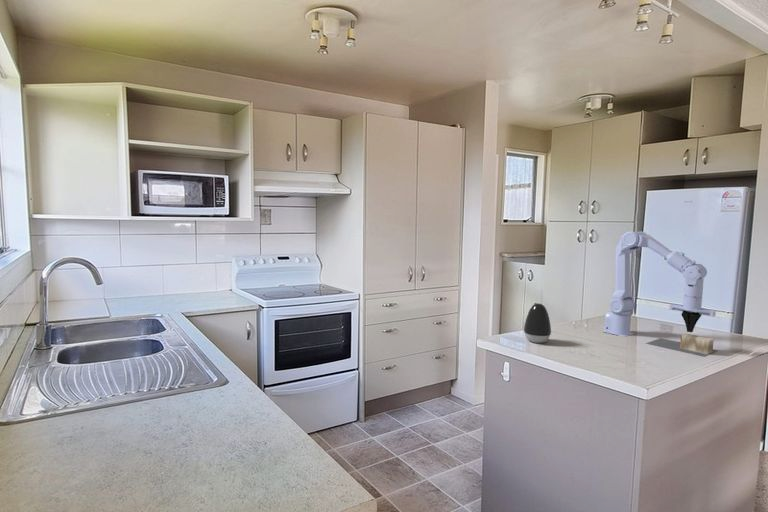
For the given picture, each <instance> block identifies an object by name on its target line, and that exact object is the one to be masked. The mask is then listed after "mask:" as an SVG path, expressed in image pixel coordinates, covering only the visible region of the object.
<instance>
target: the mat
mask: <svg viewBox="0 0 768 512" xmlns="http://www.w3.org/2000/svg"><path fill="white" fill-rule="evenodd" d="M645 344H647V345H651V346H655V347H660V348H664V349H668V350H672V351H675V352H676V351H677V352H679V353H680V352H681V353H686V354H689V355H694V356H699V357H707V356H710V355H712V354H715V353H717V352H718V351H719V349H718V350H717V349H714V348H713V352H712V353H709V354H704V353H699V352H695V351H690V350H686V349H681V348H680V341H675V340H670V339H667V338H663V337H660V338H657V339H653V340H652V341H649V342H645Z"/></svg>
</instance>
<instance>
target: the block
mask: <svg viewBox="0 0 768 512" xmlns="http://www.w3.org/2000/svg"><path fill="white" fill-rule="evenodd" d="M714 340H715V339H714V338H711V337H705V336H699V335H695V334H692V333H684V334H681V335H680V340H679V342H680V348H681V349H686V350H690V351H695V352H699V353H704V354H709V353H712V352H713V349H714ZM712 354H713V353H712Z"/></svg>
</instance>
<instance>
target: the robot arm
mask: <svg viewBox="0 0 768 512" xmlns="http://www.w3.org/2000/svg"><path fill="white" fill-rule="evenodd" d="M639 248H648V249H650V250H651V251H653V252H655V253H657V254H658V255H660V256H661V257H663V258H665V259H666V263H667V265H669V266H670V267H672V268H674V269H675V270H677V271H678V272H680V273H681V274H682V275H683V278H684V279H685V280H684V291H683V300H682V301H683V304H682V305H679V304H669V308H668V309H669V310H671V311H677V312H682V313H680V314H681V317H682V319H683V321H684V324H685V327H686V332H687V333H693V332H694V330H695V326H696V325H697V322H698V321H699V319H700V318H701V317H702V315H703V316H708V317H712V318H713V317H716V313H717V312H716V310H712V309H707V308H702V305H703V303H702V302H703V294H704V292H703V290H704V280H705V279H704V278H706V276H707V274H708V270H707V268H706V267H705V266H704V265H703V264H700V263H697V261H696V260H691V259H690V258H688V257H687V256H686V255H685V253H684V252H679V251H672V250H671V249H669V248H668V247H666V246H665V245H664V244H662V243H661V242H659V241H658V240H657V239H655V238H654V237H653V236H652V235H651V234H647V233H646V232H645V231H627V232H624V234H622V235H621V236H620V240H619V243H618V244H617V246H616V247H615V290H614V292H613V293H612V294H611V300H610V302H609V309H610V310H611V311H607V312H606V313H605V317H604V327H603V328H604V329H603V331H602V332H603V333H606V334H611V335H616V336H620V337H621V336H622V337H629V336H631V335H634V334H635V333H634V332H631V323H632V321H631V320H632V311H633V310H634V309H635V306H636V304H635V303H636V302H635V300H634V299H633V297H634V295H633V293H632V292H631V254H632V253H633V252H634V251H636V250H637V249H639Z"/></svg>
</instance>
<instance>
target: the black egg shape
mask: <svg viewBox="0 0 768 512" xmlns="http://www.w3.org/2000/svg"><path fill="white" fill-rule="evenodd" d="M551 325H552V324H551V320H550V315H549V312H548V309H547V308H546V307H545V305H543V304H542V303H537V302H536V303H534V304H533V305H532V306H531V307H530V309H529V310H528V313H527V315H526V318H525V322H524V326H523V332H524V335H525V337H526V339H527V340H528V341H530V342H531V343H534V344H543V343H546V342H547V341H548V340H549V338H550V337H551V335H552V327H551Z"/></svg>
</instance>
